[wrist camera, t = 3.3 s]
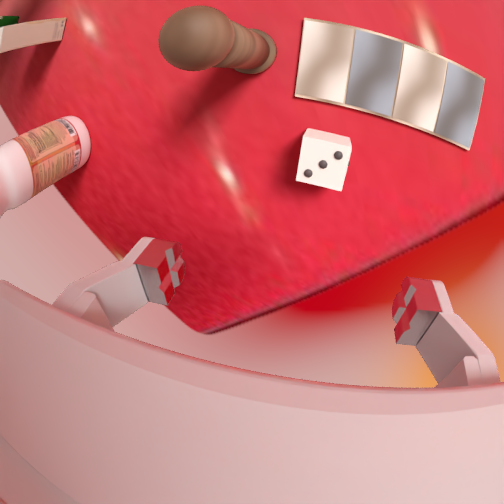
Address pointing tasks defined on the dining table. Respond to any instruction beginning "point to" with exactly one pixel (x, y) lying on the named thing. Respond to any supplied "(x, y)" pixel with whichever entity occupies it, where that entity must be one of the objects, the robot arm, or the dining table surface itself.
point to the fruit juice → (41, 159)
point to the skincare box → (31, 33)
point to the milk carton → (8, 20)
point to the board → (388, 80)
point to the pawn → (214, 42)
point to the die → (324, 159)
